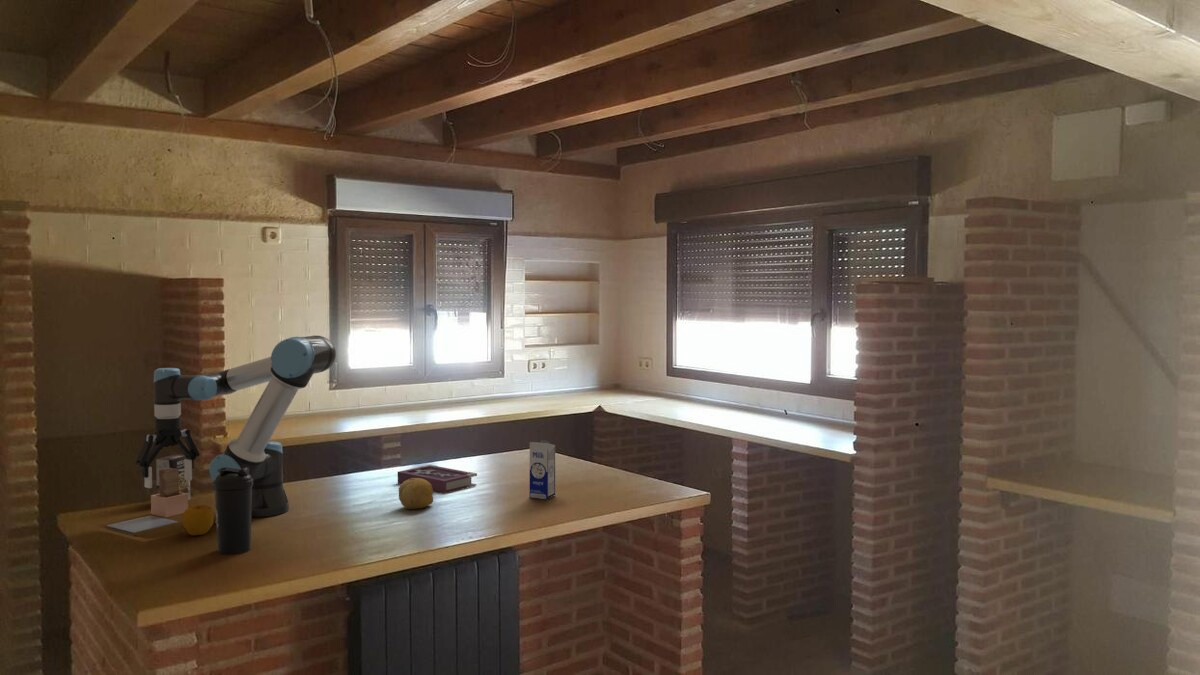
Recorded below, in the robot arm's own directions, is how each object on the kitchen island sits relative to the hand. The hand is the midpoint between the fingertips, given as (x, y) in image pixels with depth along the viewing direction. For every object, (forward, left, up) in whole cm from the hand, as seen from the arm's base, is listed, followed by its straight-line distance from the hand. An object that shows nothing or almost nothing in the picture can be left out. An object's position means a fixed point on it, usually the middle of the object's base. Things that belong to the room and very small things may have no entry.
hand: (168, 483), depth 278 cm
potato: (-58, -50, -11) cm, 77 cm away
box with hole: (0, 0, -11) cm, 11 cm away
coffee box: (+13, -10, -11) cm, 20 cm away
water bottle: (-48, +12, -11) cm, 51 cm away
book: (-41, -80, -11) cm, 91 cm away
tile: (-5, +12, -11) cm, 17 cm away
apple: (-26, +8, -11) cm, 29 cm away
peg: (0, 0, -10) cm, 10 cm away
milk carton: (-85, -85, -11) cm, 121 cm away
